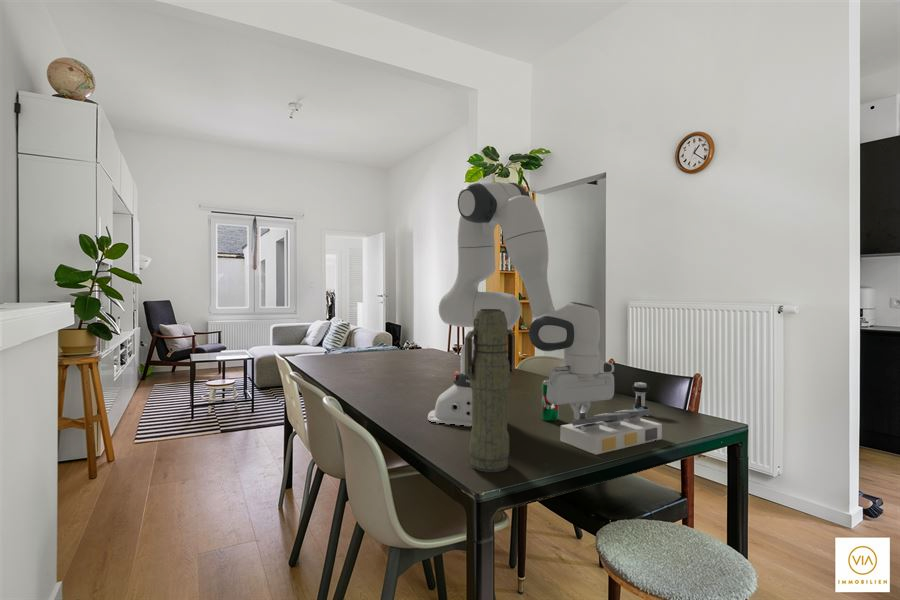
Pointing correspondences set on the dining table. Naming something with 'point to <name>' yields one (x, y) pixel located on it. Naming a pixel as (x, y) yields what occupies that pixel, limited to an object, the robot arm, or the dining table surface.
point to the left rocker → (590, 420)
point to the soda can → (548, 405)
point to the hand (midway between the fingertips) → (580, 418)
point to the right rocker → (635, 412)
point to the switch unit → (611, 434)
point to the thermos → (489, 388)
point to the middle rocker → (615, 416)
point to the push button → (640, 395)
